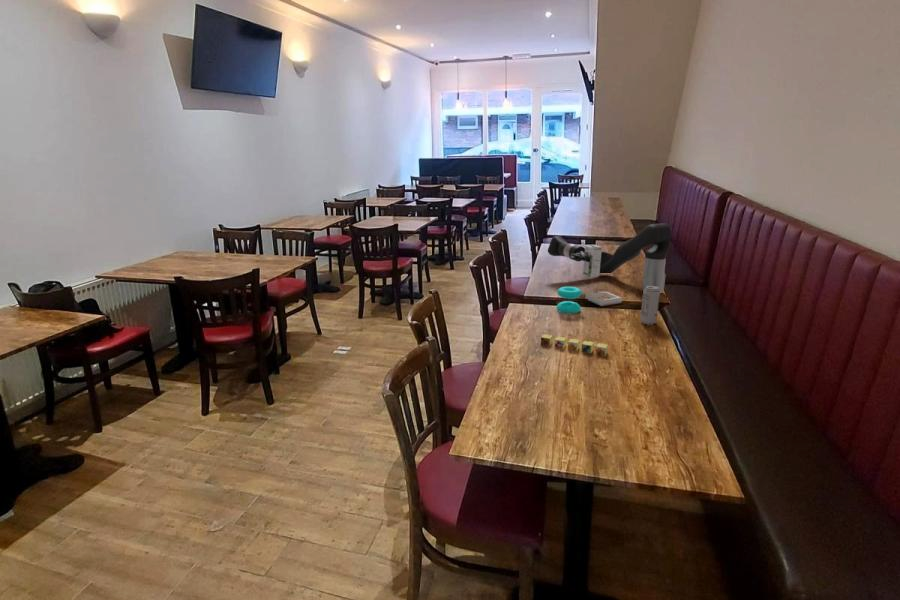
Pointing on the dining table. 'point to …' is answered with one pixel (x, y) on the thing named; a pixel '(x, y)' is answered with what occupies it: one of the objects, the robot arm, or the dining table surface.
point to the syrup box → (592, 261)
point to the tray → (594, 299)
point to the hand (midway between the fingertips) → (595, 259)
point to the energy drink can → (650, 305)
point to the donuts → (569, 294)
